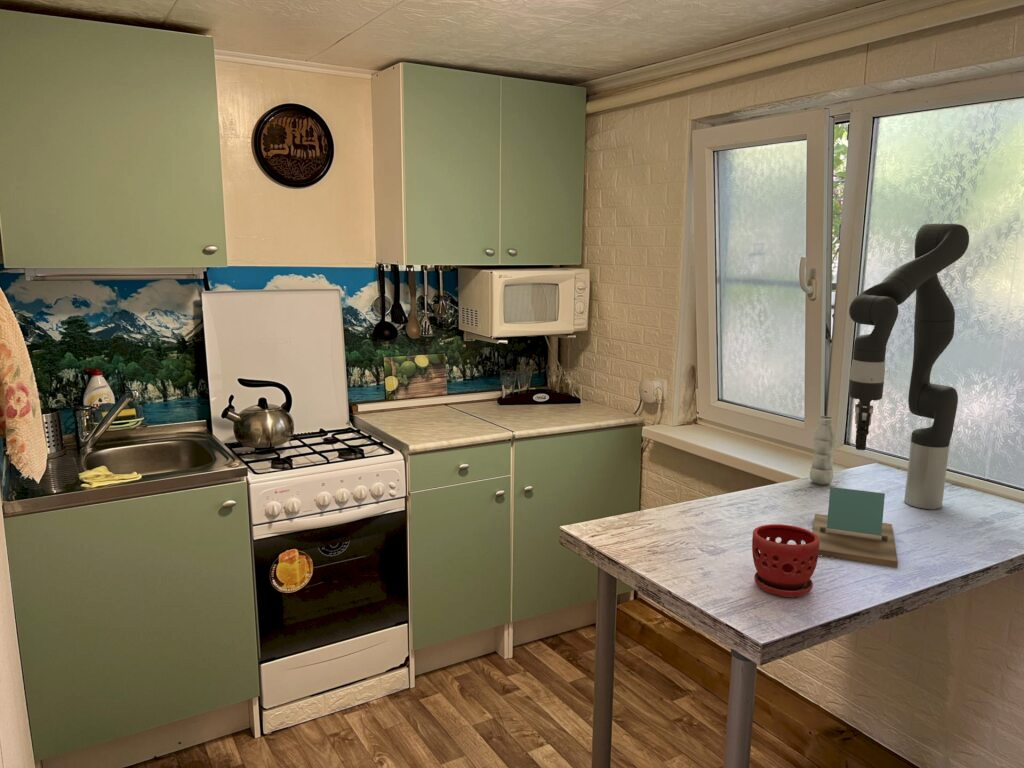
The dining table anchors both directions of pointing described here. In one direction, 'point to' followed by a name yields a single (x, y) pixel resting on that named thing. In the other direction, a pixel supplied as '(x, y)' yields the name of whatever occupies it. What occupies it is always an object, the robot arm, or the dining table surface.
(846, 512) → the tile
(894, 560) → the board
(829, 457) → the plastic bottle
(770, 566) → the plant pot
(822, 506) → the dining table surface
